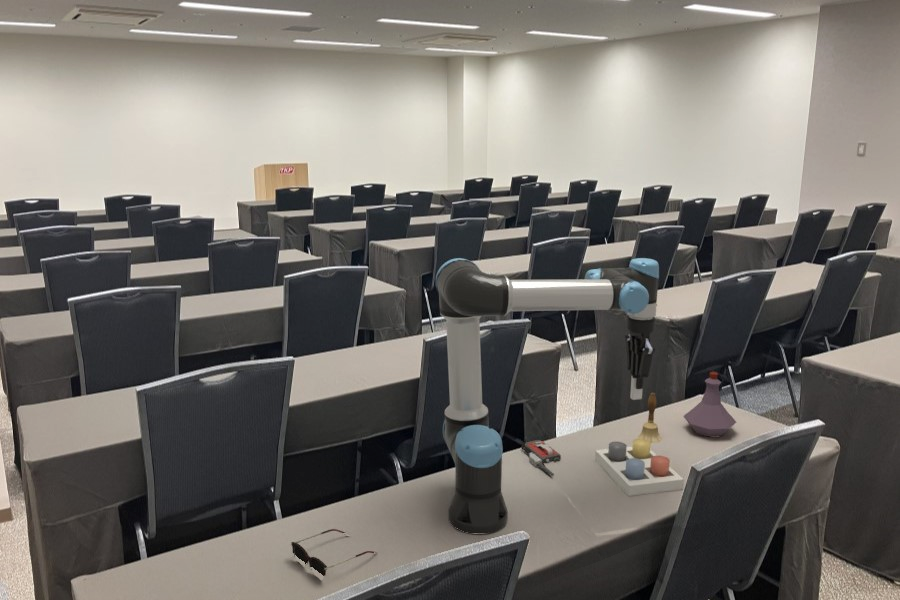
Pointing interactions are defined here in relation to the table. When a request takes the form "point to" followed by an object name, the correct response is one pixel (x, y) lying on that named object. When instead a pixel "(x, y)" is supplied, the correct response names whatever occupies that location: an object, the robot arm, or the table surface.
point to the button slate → (634, 469)
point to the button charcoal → (617, 451)
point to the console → (638, 486)
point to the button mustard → (641, 449)
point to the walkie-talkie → (541, 454)
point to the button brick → (659, 466)
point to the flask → (710, 411)
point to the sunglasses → (314, 561)
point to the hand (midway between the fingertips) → (636, 398)
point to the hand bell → (650, 423)
